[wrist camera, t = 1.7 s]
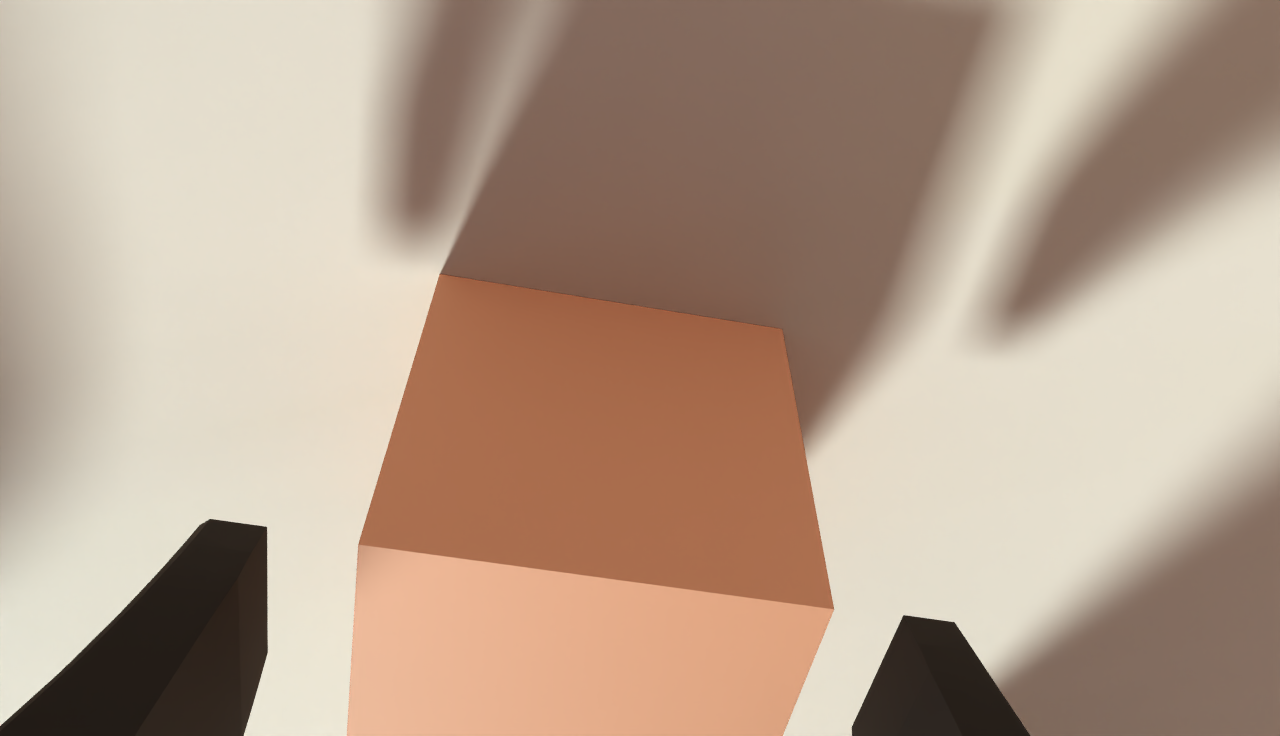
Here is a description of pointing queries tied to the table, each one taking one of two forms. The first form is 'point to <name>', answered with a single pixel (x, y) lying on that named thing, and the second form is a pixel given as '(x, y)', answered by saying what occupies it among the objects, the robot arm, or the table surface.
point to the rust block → (587, 528)
